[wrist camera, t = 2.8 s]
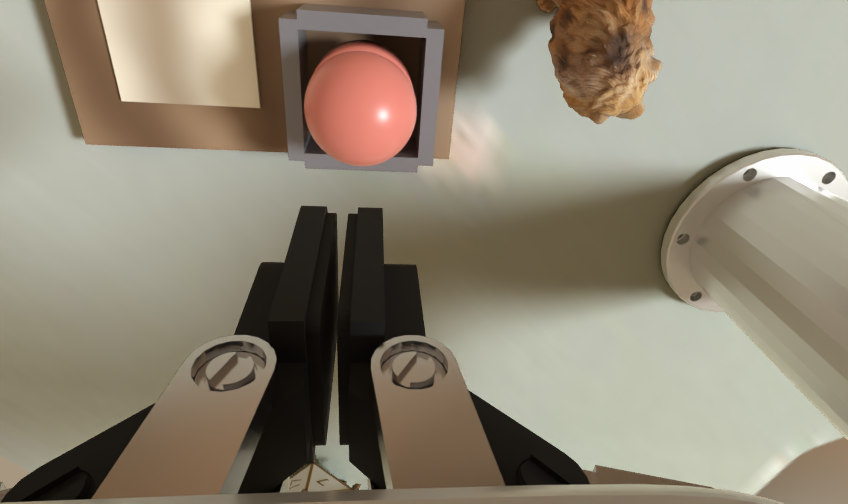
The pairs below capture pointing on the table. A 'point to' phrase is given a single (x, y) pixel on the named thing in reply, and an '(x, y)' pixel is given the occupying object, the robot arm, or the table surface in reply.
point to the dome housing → (363, 23)
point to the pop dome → (360, 103)
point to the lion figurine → (603, 55)
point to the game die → (317, 480)
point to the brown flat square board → (213, 68)
